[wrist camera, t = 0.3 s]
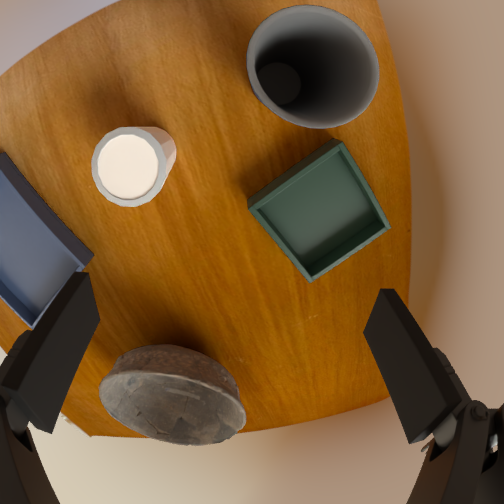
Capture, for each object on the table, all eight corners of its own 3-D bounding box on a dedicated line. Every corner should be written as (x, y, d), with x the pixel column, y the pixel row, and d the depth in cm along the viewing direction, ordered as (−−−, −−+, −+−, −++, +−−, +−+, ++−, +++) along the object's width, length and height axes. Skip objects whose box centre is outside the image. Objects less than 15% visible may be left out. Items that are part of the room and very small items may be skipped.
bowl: (92, 323, 38) (68, 373, 29) (223, 302, 37) (221, 363, 28) (149, 401, 48) (140, 445, 39) (256, 392, 47) (259, 441, 38)
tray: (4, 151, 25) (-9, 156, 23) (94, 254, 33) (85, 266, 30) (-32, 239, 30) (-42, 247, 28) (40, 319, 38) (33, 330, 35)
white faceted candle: (161, 107, 25) (138, 109, 19) (194, 163, 28) (182, 181, 22) (108, 144, 27) (77, 158, 21) (141, 196, 30) (119, 221, 24)
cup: (238, 54, 23) (238, 6, 10) (308, 51, 23) (371, 10, 10) (246, 119, 27) (254, 133, 13) (314, 114, 26) (383, 128, 13)
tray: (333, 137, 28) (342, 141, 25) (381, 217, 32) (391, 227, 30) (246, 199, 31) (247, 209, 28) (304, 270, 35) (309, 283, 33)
